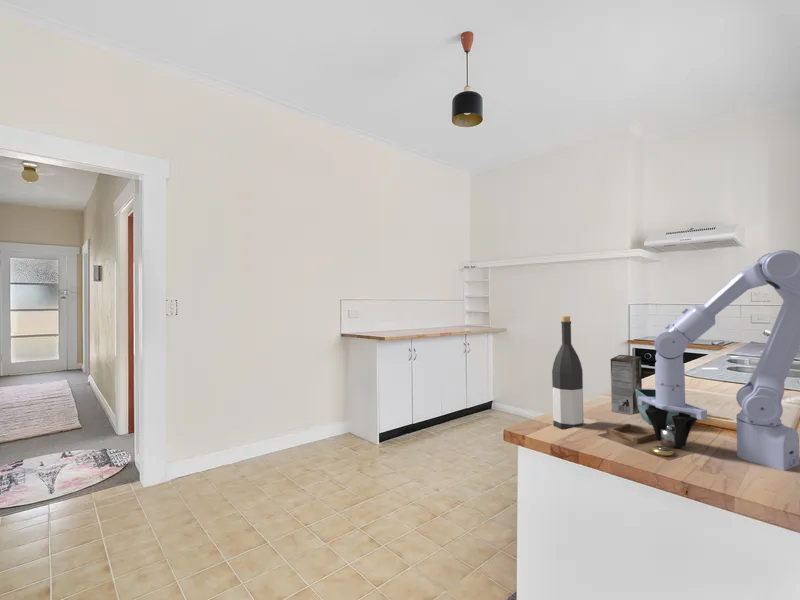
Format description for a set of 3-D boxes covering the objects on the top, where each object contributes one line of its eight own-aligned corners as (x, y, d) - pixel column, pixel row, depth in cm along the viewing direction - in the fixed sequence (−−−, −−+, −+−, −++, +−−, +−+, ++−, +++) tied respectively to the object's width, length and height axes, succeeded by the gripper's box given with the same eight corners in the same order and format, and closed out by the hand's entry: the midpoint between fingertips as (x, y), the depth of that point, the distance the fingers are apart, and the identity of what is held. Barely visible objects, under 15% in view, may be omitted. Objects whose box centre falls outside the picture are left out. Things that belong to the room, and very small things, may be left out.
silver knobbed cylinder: (685, 446, 96) (685, 426, 96) (674, 449, 95) (673, 429, 95) (667, 441, 100) (667, 421, 100) (656, 444, 98) (656, 424, 98)
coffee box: (620, 405, 135) (619, 354, 134) (643, 408, 130) (642, 356, 130) (610, 411, 128) (609, 358, 128) (634, 415, 124) (633, 360, 123)
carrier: (703, 454, 94) (703, 444, 94) (668, 465, 89) (668, 454, 89) (629, 431, 111) (629, 422, 111) (596, 439, 106) (596, 430, 106)
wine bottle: (547, 425, 117) (544, 316, 116) (562, 419, 122) (559, 315, 121) (575, 432, 111) (573, 317, 110) (589, 425, 116) (587, 315, 115)
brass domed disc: (677, 454, 92) (677, 449, 92) (665, 458, 90) (665, 452, 90) (659, 448, 96) (659, 443, 96) (647, 452, 94) (647, 446, 94)
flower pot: (684, 432, 109) (684, 397, 108) (646, 430, 110) (646, 396, 110) (670, 421, 117) (669, 389, 117) (635, 420, 119) (634, 388, 119)
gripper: (629, 380, 102) (630, 436, 102) (692, 392, 89) (693, 457, 89) (648, 376, 105) (649, 431, 105) (712, 388, 92) (713, 450, 92)
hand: (670, 442), depth 97 cm, fingers closed on silver knobbed cylinder, 4 cm apart
